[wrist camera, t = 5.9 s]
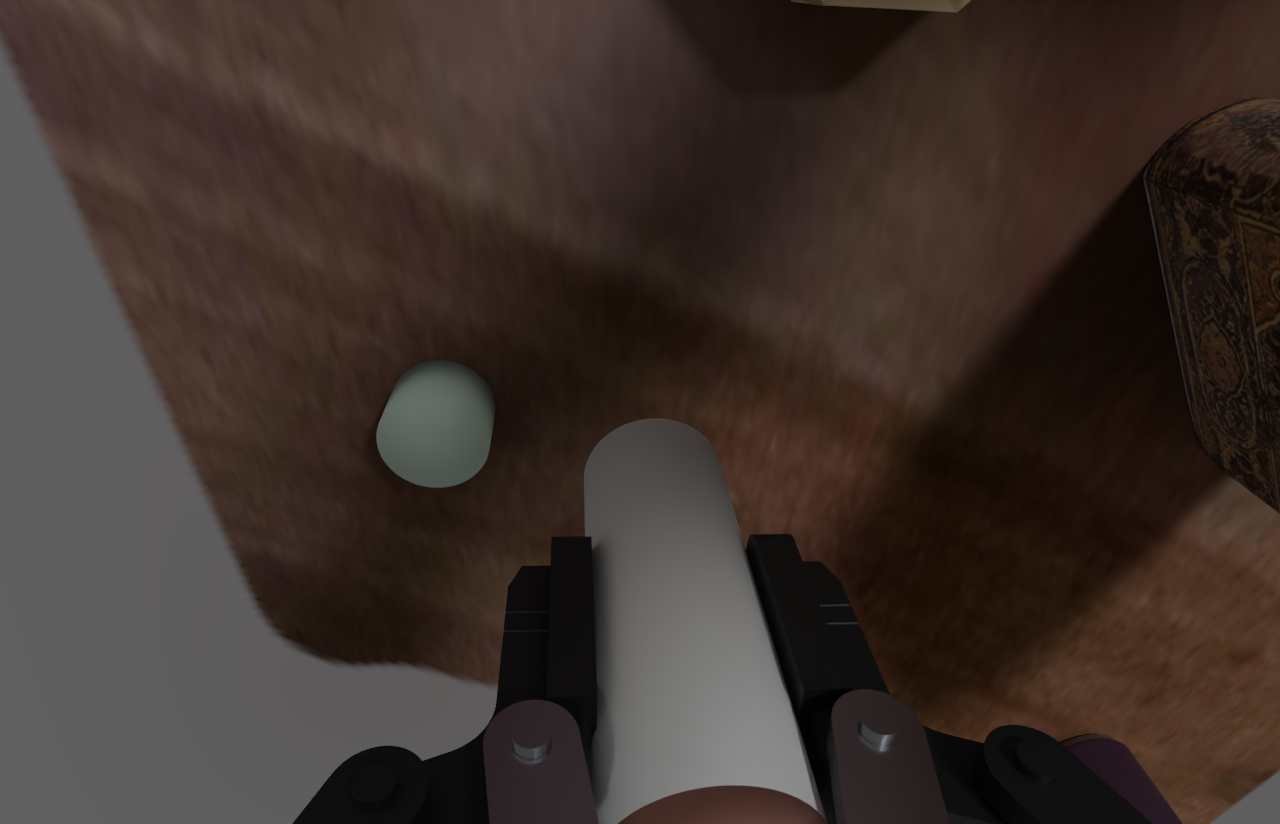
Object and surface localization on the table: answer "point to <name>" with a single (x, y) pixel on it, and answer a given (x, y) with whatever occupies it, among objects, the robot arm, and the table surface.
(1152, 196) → the book
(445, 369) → the bead
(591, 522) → the grey cylinder
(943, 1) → the bead
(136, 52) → the table surface
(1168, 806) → the beverage can
